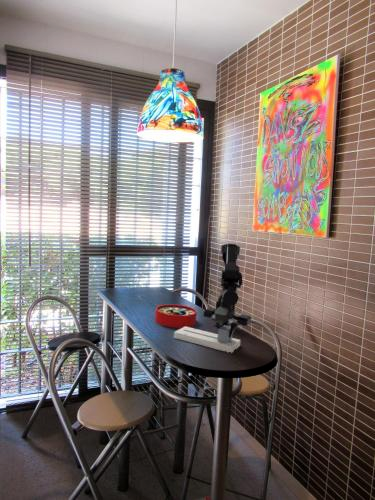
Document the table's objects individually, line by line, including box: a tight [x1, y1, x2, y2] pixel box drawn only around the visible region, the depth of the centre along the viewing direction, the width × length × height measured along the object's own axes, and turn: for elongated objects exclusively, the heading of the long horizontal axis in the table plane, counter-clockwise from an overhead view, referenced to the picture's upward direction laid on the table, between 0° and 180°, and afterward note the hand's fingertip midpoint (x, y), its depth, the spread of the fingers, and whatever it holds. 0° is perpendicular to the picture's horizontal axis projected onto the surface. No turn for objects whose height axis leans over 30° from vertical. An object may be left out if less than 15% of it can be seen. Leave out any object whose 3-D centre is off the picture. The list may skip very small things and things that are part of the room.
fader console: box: [173, 326, 241, 354], centre depth 151 cm, size 10×26×3 cm, turn 62°
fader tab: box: [217, 325, 233, 343], centre depth 147 cm, size 6×4×5 cm, turn 152°
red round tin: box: [154, 304, 198, 329], centre depth 176 cm, size 20×6×20 cm
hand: (225, 336), depth 147 cm, fingers closed on fader tab, 4 cm apart
